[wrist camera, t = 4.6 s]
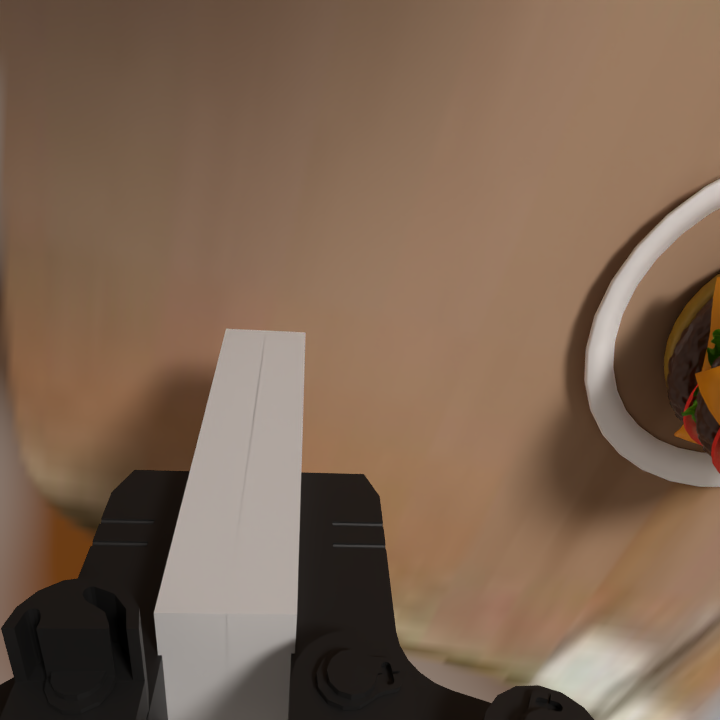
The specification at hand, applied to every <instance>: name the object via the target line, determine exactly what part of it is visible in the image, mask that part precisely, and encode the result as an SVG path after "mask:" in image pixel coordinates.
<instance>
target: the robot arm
mask: <svg viewBox="0 0 720 720" xmlns="http://www.w3.org/2000/svg"><path fill="white" fill-rule="evenodd" d="M304 364H305V332H285V331H263V330H242V329H226V331H225V335H224V339H223V343H222V347H221V351H220V355H219V359H218V363H217V367H216V371H215V374H214V378H213V382H212V386H211V390H210V394H209V398H208V402H207V406H206V410H205V414H204V418H203V422H202V426H201V430H200V433H199V437H198V441H197V445H196V449H195V453H194V457H193V461H192V465H191V469H190V472H189V471H153V470H134V471H133V472H132V473H131V474H130V475H129V476H128V477H127V478H126V479H125V480H124V481H123V482H122V483H121V484H120V485H119V486H118V487H117V488H116V489H115V490H114V491H113V492H112V493H111V496H110V498H109V501H108V503H107V506H106V508H105V511H104V513H103V516H102V521H101V524H99V526H98V529H97V531H96V534H95V536H94V539H93V545H92V546H91V547H90V549H89V552H88V554H87V557H86V559H85V562H84V564H83V567H82V569H81V572H80V574H79V577H78V579H71V580H64V581H61V582H59V583H57V584H54V585H51V586H49V587H47V588H44V589H42V590H39V591H38V592H36V593H35V594H33V595H32V596H31V597H29V598H28V599H27V600H26V601H24V602H23V603H22V604H20V605H19V606H17V607H16V608H15V610H14V611H13V613H12V614H11V615H10V617H9V618H8V619H7V621H6V622H5V624H4V625H3V626H2V628H1V630H2V633H3V637H4V641H5V645H6V649H7V652H8V655H9V660H10V664H11V667H12V671H13V675H14V678H12V679H10V680H8V681H6V682H5V683H3V684H1V685H0V720H594V719H593V718H592V717H591V715H590V714H589V713H588V712H587V711H586V709H585V708H584V707H582V706H581V705H579V704H578V703H576V702H575V701H573V700H572V699H570V698H569V697H567V696H566V695H564V694H563V693H561V692H558V691H554V690H551V689H548V688H545V687H542V686H538V685H537V686H515V687H513V688H511V689H510V690H507V691H505V692H503V693H501V694H499V695H498V696H497V697H496V698H495V700H494V701H493V702H492V703H489V702H486V701H483V700H480V699H476V698H474V697H471V696H467V695H464V694H461V693H458V692H455V691H452V690H450V689H447V688H445V687H443V686H440V685H438V684H436V683H434V682H433V681H431V680H430V679H428V678H427V677H425V676H424V675H423V674H421V673H420V672H419V671H418V670H417V669H416V668H415V667H414V666H413V665H412V664H411V663H410V661H409V660H408V659H407V657H406V655H405V654H404V652H403V650H402V648H401V647H400V644H399V641H398V637H397V633H396V627H395V619H394V611H393V603H392V594H391V586H390V578H389V570H388V562H387V553H386V549H385V537H384V529H383V520H382V512H381V504H380V497H379V495H378V494H377V492H376V491H375V489H374V488H373V487H372V485H371V484H370V482H369V481H368V480H367V478H366V477H365V475H364V474H335V473H301V465H302V431H303V398H304Z"/></svg>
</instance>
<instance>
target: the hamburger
mask: <svg viewBox="0 0 720 720" xmlns="http://www.w3.org/2000/svg"><path fill="white" fill-rule="evenodd" d="M718 209H720V179H718V180H716V181H714V182H713V183H711V184H709V185H707V186H705V187H704V188H702V189H701V190H700V191H698V192H697V193H695V194H694V195H693V196H691V197H690V198H689V199H687V200H686V201H685V202H683V203H682V204H681V205H679V206H678V207H677V208H675V209H674V210H673V211H671V212H670V213H668V214H667V215H666V216H665V217H664V218H663V219H662V220H661V221H660V222H659V223H658V224H657V225H656V226H655V227H654V228H653V229H652V230H651V231H650V232H649V233H648V234H647V235H646V236H645V237H644V238H643V239H642V241H641V242H640V243H639V244H638V245H637V246H636V247H635V248H634V249H633V251H632V252H631V254H630V255H629V256H628V258H627V259H626V261H625V262H624V263H623V265H622V266H621V268H620V269H619V270H618V272H617V273H616V275H615V276H614V277H613V279H612V280H611V282H610V284H609V286H608V288H607V291H606V293H605V295H604V297H603V299H602V301H601V303H600V305H599V307H598V309H597V311H596V313H595V316H594V319H593V323H592V327H591V331H590V335H589V338H588V342H587V346H586V352H585V376H584V382H585V387H586V392H587V397H588V402H589V407H590V411H591V413H592V415H593V417H594V419H595V421H596V423H597V425H598V427H599V429H600V431H601V433H602V435H603V436H604V437H605V438H606V439H607V440H608V442H609V443H610V444H611V445H612V446H613V447H614V448H615V450H616V451H617V452H618V453H619V454H620V455H621V456H623V457H624V458H626V459H627V460H629V461H630V462H631V463H633V464H634V465H636V466H637V467H639V468H640V469H641V470H644V471H646V472H649V473H651V474H654V475H656V476H659V477H661V478H664V479H666V480H669V481H672V482H678V483H683V484H688V485H693V486H699V487H720V273H719V274H718V275H716V276H715V277H714V278H713V279H712V280H710V281H709V282H708V283H707V284H705V285H704V286H703V287H702V288H701V289H700V290H699V291H698V292H697V293H696V294H695V295H694V296H693V297H692V299H691V300H690V301H689V302H688V303H687V304H686V306H685V307H684V309H683V311H682V312H681V314H680V315H679V317H678V318H677V320H676V321H675V324H674V326H673V328H672V331H671V333H670V335H669V338H668V341H667V345H666V350H665V355H664V375H665V381H666V385H667V389H668V397H669V400H670V405H671V407H672V408H673V410H674V411H675V415H676V417H677V418H679V419H680V420H681V421H682V422H683V423H684V424H683V425H682V427H681V428H680V429H679V430H678V431H676V432H675V433H674V436H676V437H679V438H682V439H684V440H687V441H690V442H693V443H696V444H700V445H701V446H703V450H704V451H705V452H706V453H703V452H697V451H692V450H687V449H682V448H677V447H675V446H673V445H670V444H668V443H666V442H663V441H661V440H658V439H656V438H655V437H654V436H652V435H651V434H650V433H648V432H647V431H645V430H644V429H643V428H641V427H640V426H639V425H638V424H637V423H636V422H635V420H634V419H633V418H632V417H631V416H630V414H629V413H628V412H627V411H626V409H625V407H624V404H623V402H622V400H621V398H620V396H619V393H618V391H617V386H616V381H615V375H614V369H613V363H614V348H615V339H616V336H617V332H618V329H619V325H620V322H621V318H622V315H623V313H624V311H625V309H626V307H627V305H628V303H629V301H630V299H631V297H632V295H633V293H634V291H635V289H636V287H637V285H638V284H639V282H640V281H641V280H642V278H643V277H644V276H645V274H646V273H647V272H648V270H649V269H650V268H651V266H652V265H653V263H654V262H655V261H656V259H657V258H658V257H659V256H660V255H661V254H662V253H663V252H664V251H665V250H666V249H667V248H669V247H670V246H671V245H672V244H673V243H674V242H675V241H676V240H677V239H678V238H679V237H680V236H681V235H682V234H683V233H684V232H686V231H687V230H688V229H690V228H691V227H693V226H694V225H695V224H697V223H698V222H699V221H701V220H702V219H704V218H705V217H706V216H708V215H709V214H710V213H712V212H714V211H716V210H718Z"/></svg>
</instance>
